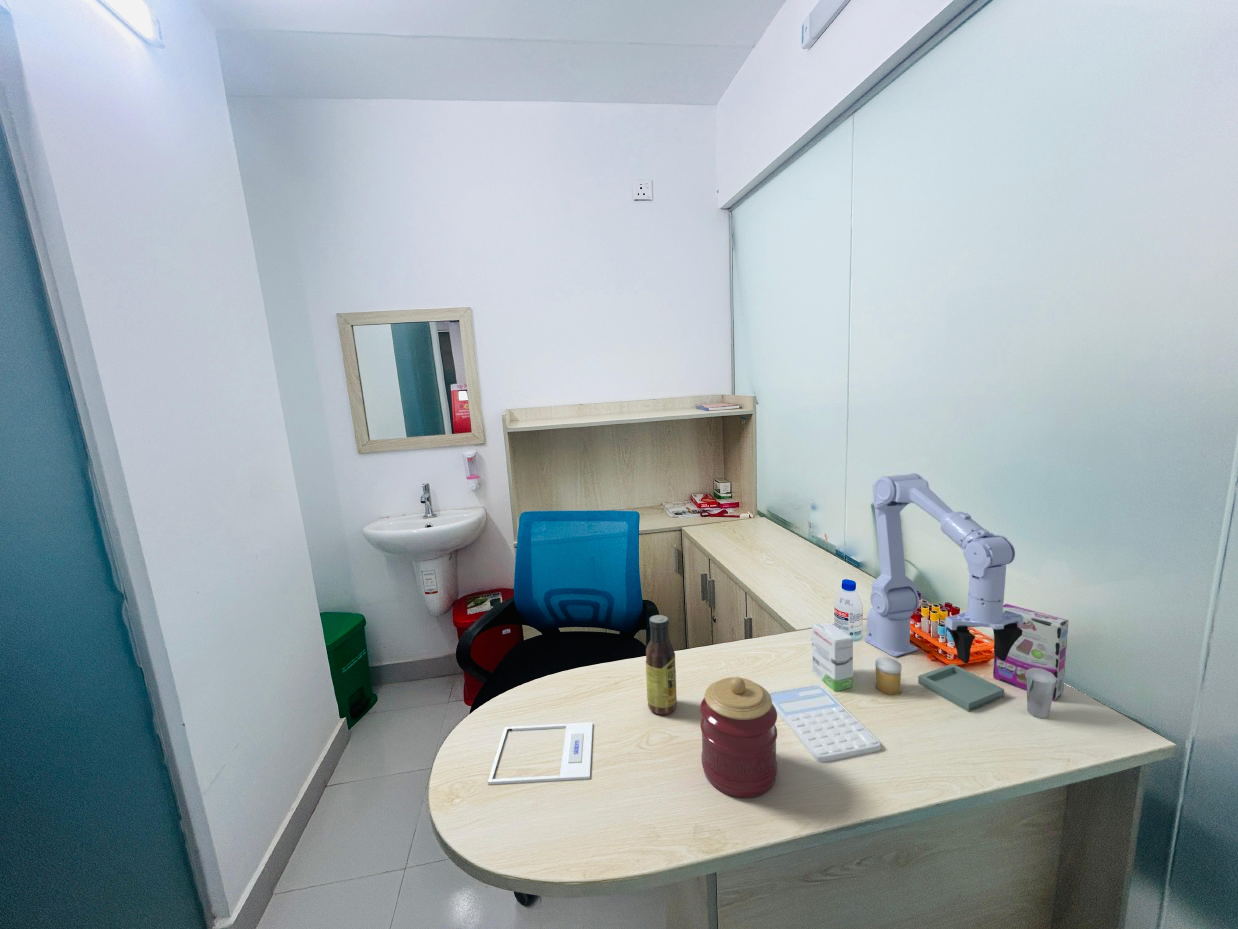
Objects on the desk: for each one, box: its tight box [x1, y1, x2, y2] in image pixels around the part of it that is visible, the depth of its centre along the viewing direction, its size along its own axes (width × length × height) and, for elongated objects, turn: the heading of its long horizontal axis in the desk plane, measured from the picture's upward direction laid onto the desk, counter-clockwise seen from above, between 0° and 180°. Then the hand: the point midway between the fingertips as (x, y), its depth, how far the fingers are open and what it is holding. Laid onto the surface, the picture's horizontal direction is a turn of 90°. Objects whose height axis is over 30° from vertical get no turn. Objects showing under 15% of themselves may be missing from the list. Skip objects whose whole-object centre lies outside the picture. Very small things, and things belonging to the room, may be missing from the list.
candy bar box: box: [992, 603, 1069, 702], centre depth 108 cm, size 11×5×16 cm, turn 33°
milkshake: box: [1026, 668, 1063, 719], centre depth 99 cm, size 5×5×10 cm
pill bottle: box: [874, 656, 903, 696], centre depth 110 cm, size 5×5×6 cm
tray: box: [917, 663, 1005, 712], centre depth 108 cm, size 11×11×2 cm
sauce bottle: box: [645, 614, 677, 716], centre depth 106 cm, size 7×6×20 cm
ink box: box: [811, 622, 854, 692], centre depth 114 cm, size 9×5×12 cm, turn 14°
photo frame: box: [487, 721, 594, 786], centre depth 96 cm, size 15×1×18 cm
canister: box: [699, 676, 778, 799], centre depth 88 cm, size 13×13×18 cm
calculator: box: [768, 684, 882, 763], centre depth 101 cm, size 13×20×2 cm, turn 11°
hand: (981, 659), depth 102 cm, fingers open, 7 cm apart
